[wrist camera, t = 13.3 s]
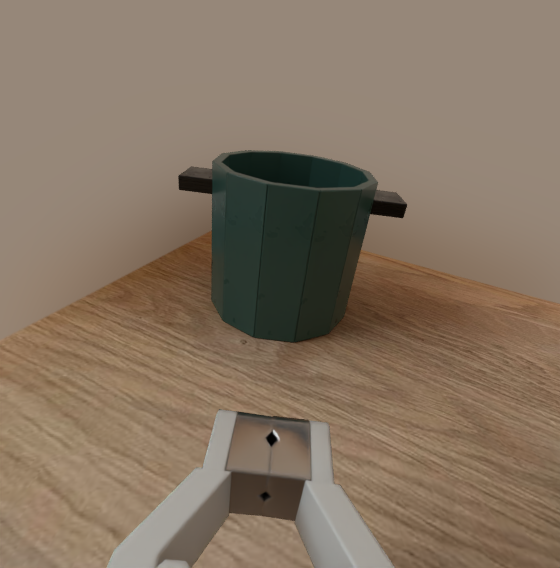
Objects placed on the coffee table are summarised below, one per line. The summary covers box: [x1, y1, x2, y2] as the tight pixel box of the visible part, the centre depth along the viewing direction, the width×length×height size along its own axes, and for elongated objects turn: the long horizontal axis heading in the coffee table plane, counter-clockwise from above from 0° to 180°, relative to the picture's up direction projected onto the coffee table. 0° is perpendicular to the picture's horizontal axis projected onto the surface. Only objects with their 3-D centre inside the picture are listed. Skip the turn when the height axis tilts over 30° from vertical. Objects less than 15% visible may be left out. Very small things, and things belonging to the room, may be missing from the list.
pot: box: [178, 150, 407, 342], centre depth 26 cm, size 16×11×11 cm
